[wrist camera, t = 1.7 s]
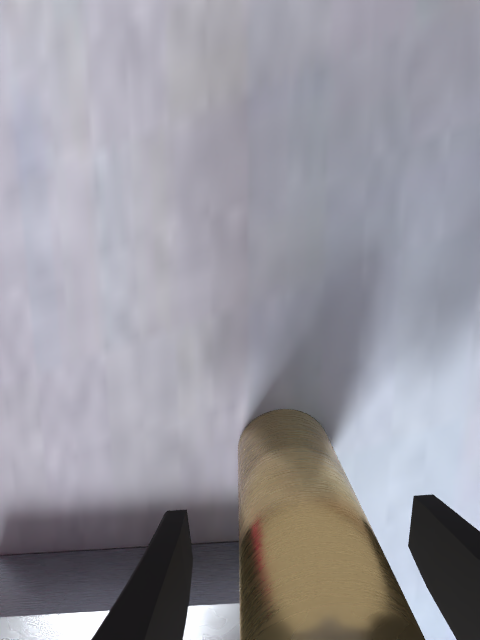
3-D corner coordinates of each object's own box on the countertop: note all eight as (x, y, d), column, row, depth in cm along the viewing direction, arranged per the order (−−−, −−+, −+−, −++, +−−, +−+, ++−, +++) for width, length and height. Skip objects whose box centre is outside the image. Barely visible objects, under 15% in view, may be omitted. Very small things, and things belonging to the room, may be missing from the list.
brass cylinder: (329, 406, 12) (442, 600, 6) (327, 484, 13) (422, 730, 7) (235, 411, 12) (234, 612, 6) (240, 489, 13) (245, 740, 7)
